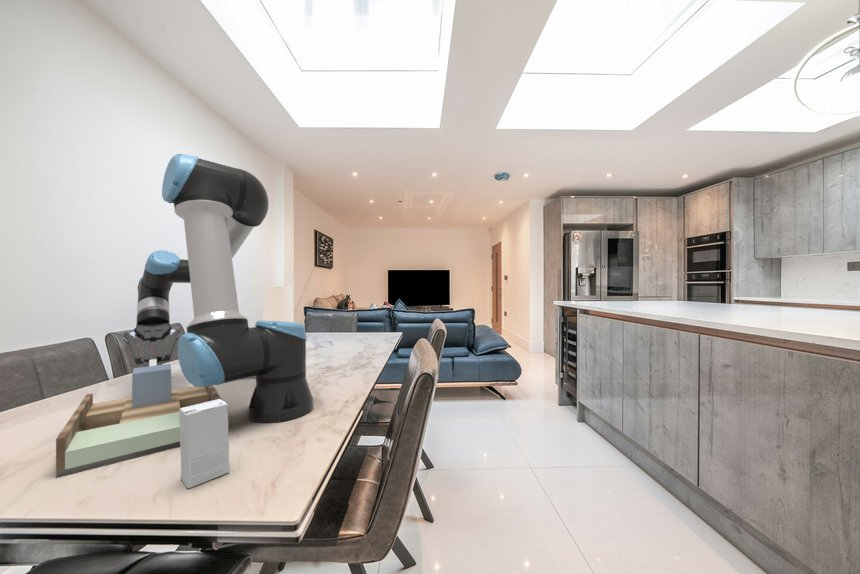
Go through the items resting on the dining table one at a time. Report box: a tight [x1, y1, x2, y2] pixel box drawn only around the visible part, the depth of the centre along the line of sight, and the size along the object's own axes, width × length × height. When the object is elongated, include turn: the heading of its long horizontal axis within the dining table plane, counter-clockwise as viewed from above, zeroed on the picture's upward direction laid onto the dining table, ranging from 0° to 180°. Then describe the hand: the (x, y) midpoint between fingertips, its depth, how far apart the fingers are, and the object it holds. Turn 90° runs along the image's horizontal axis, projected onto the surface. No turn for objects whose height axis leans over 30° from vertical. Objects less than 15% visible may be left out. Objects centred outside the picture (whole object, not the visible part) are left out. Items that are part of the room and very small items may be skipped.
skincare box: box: [179, 398, 230, 489], centre depth 54 cm, size 6×4×12 cm
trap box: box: [55, 385, 222, 479], centre depth 73 cm, size 30×24×6 cm
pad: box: [65, 412, 180, 469], centre depth 66 cm, size 10×22×3 cm, turn 130°
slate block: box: [131, 363, 172, 409], centre depth 79 cm, size 7×7×8 cm
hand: (152, 382), depth 85 cm, fingers closed
